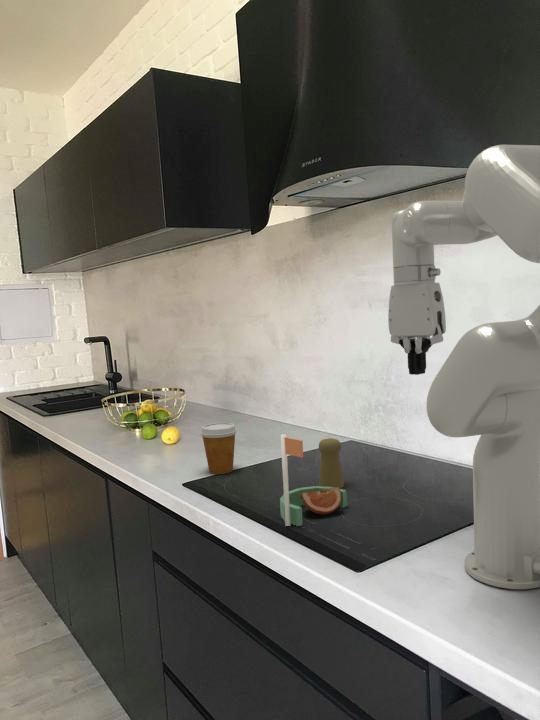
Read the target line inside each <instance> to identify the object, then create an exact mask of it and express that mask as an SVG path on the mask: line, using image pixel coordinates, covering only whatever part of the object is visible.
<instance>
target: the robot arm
mask: <svg viewBox="0 0 540 720" xmlns="http://www.w3.org/2000/svg"><path fill="white" fill-rule="evenodd" d="M462 194H463V195H462V200H449V199H448V200H445V199H443V200H418V201H415V202H413V203H411V204H410V205H409V206H408V207H406V209H401V210H398V211H396V212H395V213H394V214H393V215H392V218H391V239H392V241H391V242H392V243H391V244H392V245H391V247H392V267H393V268H392V269H393V271H392V272H393V273H392V274H393V275H392V276H393V285H391V287H390V292H389V300H388V313H387V314H388V316H387V317H388V318H387V319H388V321H387V322H388V330H389V331H388V332H389V335H390V342H391V343H393V344H397V345H400V346H401V347H402V349H403V351H404V353H405V354H407V369H408V373H409V375H410V376H411V375H415V376H418V375H423V374H425V373H426V370H427V353H428V352H429V349H431V347H432V346H433V345H436V344H440V343H442V342H443V341H444V336H443V335H444V334H445V333H446V329H447V321H446V311H445V303H444V296H443V292H442V289H441V288H442V287H441V285H440V282H436V277H437V276H440V275H441V272H442V270H441V269H440V267H439V268H437V267H436V265H435V246H439V245H468V244H473V243H478V242H482V241H484V240H489V239H491V238H494V237H496V236H497V237H499V239H500V240H501V241H503V243H504V244H506V246H507V247H508V248H510V250H511V251H513V253H515V254H516V255H517V256H518V257H520V258H522V259H524V260H525V261H528V262H531V263H536V264H540V145H534V144H531V145H530V144H497V145H494V146H489V147H488V148H486V149H483V151H481V152H480V153H479V154H477V155H476V157H475V158H473V160H472V162H470V165H469V166H468V169H467V171H466V175H465V179H464V191H463V193H462ZM426 413H427V417H428V421H429V423H430V424H431V426H432V427H433V428H434V430H435V431H437V432H438V433H439V434H442V435H443V436H446V437H449V438H467V437H475V436H480V437H479V439H478V441H477V443H476V446H475V449H474V451H473V457H472V489H473V490H472V491H473V536H474V539H473V541H474V542H473V543H474V544H473V545H474V547H473V548H474V550H473V551H470V552H469V553H468V554H467V555H466V556H465V557H464V561H463V562H464V569H465V571H466V573H467V574H468V575H469V576H471V577H472V578H473V579H475V580H477V581H479V582H480V583H484V584H485V585H488V586H492V587H496V588H501V589H508V590H530V589H532V590H533V589H536V588H540V304H538V306H537V307H536V308H535V309H534V310H533V312H532V313H530V314H529V315H528V316H527V317H524V318H521V319H518V320H517V319H516V320H510V321H507V320H506V321H497V322H488V323H482V324H480V325H477V326H475V327H473V328H471V329H470V330H468V331H467V332H466V333H464V334H463V335H462V337H461V338H460V339H459V340H458V342H457V343H456V344H455V346H454V347H453V349H452V350H451V352H450V353H449V356H448V357H447V358H446V360H445V362H443V364H442V366H441V367H440V369H439V371H438V373H437V374H436V375H435V378H434V379H433V381H432V382H431V384H430V388H429V389H428V393H427V397H426Z"/></svg>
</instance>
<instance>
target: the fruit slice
mask: <svg viewBox="0 0 540 720" xmlns="http://www.w3.org/2000/svg"><path fill="white" fill-rule="evenodd" d="M340 489H341V488H339V487H335V488H330V489H324V490H320V491H318V492H315V491H313V492H305V493H301V499H302V502H303V503H304V505H303V506H305V508H307V509H308V510H309V511H311V512H312V513H315V514H318V515H321V516H322V515H329V514H331V513H334V512H335V511H336V510H337V509H338V508H339V507H338V506H339V504H340V502H341V492H340Z"/></svg>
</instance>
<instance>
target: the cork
mask: <svg viewBox="0 0 540 720" xmlns="http://www.w3.org/2000/svg"><path fill="white" fill-rule="evenodd" d="M318 443H319V444H318V450H319V452H320V454H321V455H320V466H319V475H318V476H319V478H318V486H323V487H339V489H342V488H344V486H345V480H344V475H343V474H344V473H343V469H342V463H341V457H340V452H341V450H342V443H341V441H340V440H339V439H337V438H331V437H330V438H324V439H321V440H320V442H318Z"/></svg>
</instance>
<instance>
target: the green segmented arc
mask: <svg viewBox="0 0 540 720" xmlns="http://www.w3.org/2000/svg"><path fill="white" fill-rule="evenodd" d="M303 445H304V443H303V440H301V439H297V438H292V437H287V435H286V434H284V433H283V434H280V447H281V448H280V449H281V467H282V482H283V494H282V496H281V497H280V498H279V506H280V507H279V508H280V510H279V511H280V516H281V518H282V520H283V521H284V524H285V525H284V526H285V527H286V526H290V527H291V525H292V524H293V526H295V525H296V526H295V527H298V526H299V527H300V526H303V510H302V509H303V507H302V506H305V505H304V503H303V502H302V499H301V493H305V492H313V491H315V492H318V491H320V490H324V489H330V488H335V487H323V486H319V485H316V486H306V487H299V488H295V489H292V490H289V487H290V486H289V471H288V470H289V469H288V467H289V466H288V455H289V456H293V457H298V458H304V446H303ZM339 489H340V492H341V502H340V504H339V506H338V507H337V508H340V509H346V508H347V507H348V500H347V499H348V495H347V493H348V492H347V490H346V489H342V488H339Z"/></svg>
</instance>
